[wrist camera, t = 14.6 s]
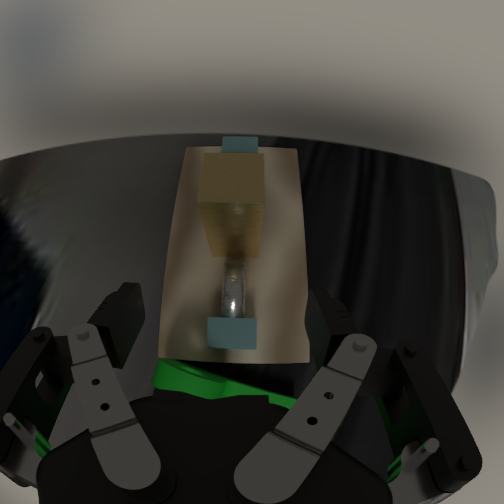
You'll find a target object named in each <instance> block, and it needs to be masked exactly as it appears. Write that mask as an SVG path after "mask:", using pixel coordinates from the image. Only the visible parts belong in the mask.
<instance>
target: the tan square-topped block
mask: <svg viewBox="0 0 504 504" xmlns="http://www.w3.org/2000/svg"><path fill="white" fill-rule="evenodd" d="M197 204H198V208H199V212H200V215H201V219H202V223H203V226H204V230H205V233H206V237H207V240H208V244H209V247H210V251H211V254H212V257H238V258H258V254H259V246H260V238H261V230H262V222H263V214H264V206H265V177H264V153H204V157H203V164H202V170H201V177H200V184H199V191H198V198H197Z"/></svg>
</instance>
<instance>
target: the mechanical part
mask: <svg viewBox="0 0 504 504" xmlns="http://www.w3.org/2000/svg"><path fill="white" fill-rule="evenodd" d="M152 383H153V385H155V386H156V387H157V388H159V389H165V390H173V391H182V392H185V393H189V394H192V395H195V396H199V397H202V398H206V399H217V398H223V397H230V396H236V395H269V403H274V404H277V405H281V406H283V407H286V408H288V409H291V407H292V406H293V405H294V404H295V402H296V401H297V399H295V398H294V397H291V396H287V395H283V394H279V393H275V392H272V391H268V390H264V389H261V388H257V387H254V386H251V385H247V384H244V383H241V382H238V381H235V380H232V379H229V378H226V377H223V376H220V375H217V374H214V373H211V372H208V371H206V370H203V369H200V368H198V367H195V366H192V365H190V364H187V363H185V362H182V361H180V360H177V359H168V358H159V361H158V364H157V367H156V369H155V372H154V375H153V378H152Z"/></svg>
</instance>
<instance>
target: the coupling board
mask: <svg viewBox="0 0 504 504" xmlns="http://www.w3.org/2000/svg"><path fill="white" fill-rule="evenodd" d="M204 153H264V177H265V206H264V214H263V222H262V230H261V238H260V246H259V254H258V258H238V257H212V254H211V251H210V247H209V244H208V240H207V237H206V233H205V230H204V226H203V223H202V219H201V215H200V212H199V208H198V204H197V198H198V191H199V184H200V177H201V170H202V164H203V157H204ZM307 299H308V284H307V265H306V248H305V233H304V220H303V208H302V197H301V186H300V176H299V166H298V157H297V149H289V148H272V147H258V137H236V136H223V141H222V146H211V147H186V151H185V155H184V160H183V165H182V170H181V175H180V180H179V185H178V190H177V196H176V201H175V207H174V213H173V219H172V225H171V232H170V239H169V246H168V253H167V261H166V269H165V277H164V286H163V296H162V307H161V319H160V332H159V349H158V357H160V358H169V359H179V360H191V361H205V362H224V363H306V362H309V339H308V336H307V333H306V330H305V324H304V318H305V311H306V305H307Z"/></svg>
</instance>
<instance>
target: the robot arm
mask: <svg viewBox="0 0 504 504" xmlns="http://www.w3.org/2000/svg"><path fill="white" fill-rule="evenodd" d="M144 320H145V309H144V304H143V298H142V292H141V287H140V284H139V283H128V282H124V283H123V284H122V285H121V287H120V288H119V289H118V291H117V292H113V293H111V294H110V295H108V296H107V297H106V298H105V299H104V300H103V302H102V304H100V306H99V307H98V309H97V310H96V311H95V312H94V314H93V315H92V316H91V318H90V319H89V321H88V322H87V323H84V324H79V325H77V326H75V327H73V328H72V329H71V330H70V331H69V333H68V336H55V337H54V336H53V333H52V331H51V329H50V328H48V327H38V328H35V329H33V330H32V331H30V332H29V333H28V334H27V336H26V337H25V338H24V340H23V341H22V342H21V344H20V345H19V347H18V348H17V349H16V351H15V352H14V353H13V355H12V356H11V358H10V359H9V361H8V362H7V363H6V365H5V366H4V368H3V369H2V371H1V372H0V472H2V473H3V474H4V475H5V476H7V477H8V478H9V479H11V480H12V481H13V482H15V483H16V484H17V485H19V486H22V487H29V486H32V487H34V488H36V489H37V490H38V496H39V504H437V503H439V502H441V501H443V500H445V499H446V498H448V497H449V496H451V495H452V494H454V493H455V492H456V491H458V490H460V489H461V488H462V486H464V485H465V484H467V483H468V482H469V481H471V480H472V479H473V478H475V477H476V476H477V475H478V474H479V472H480V470H481V468H482V457H481V454H480V452H479V449H478V447H477V445H476V443H475V441H474V438H473V436H472V434H471V432H470V430H469V428H468V426H467V424H466V422H465V420H464V418H463V416H462V415H461V412H460V410H459V409H458V407H457V405H456V403H455V401H454V399H453V397H452V396H451V394H450V392H449V390H448V388H447V387H446V385H445V383H444V381H443V380H442V378H441V376H440V375H439V373H438V371H437V370H436V368H435V366H434V365H433V363H432V361H431V360H430V358H429V356H428V355H427V353H426V352H425V350H424V348H423V347H422V346H421V345H420V344H418V343H417V342H414V341H411V340H401V341H399V342H398V343H397V344H396V346H395V348H394V349H386V348H379V347H377V345H376V343H375V342H374V340H373V339H371V338H370V337H368V336H366V335H363V334H360V333H359V331H358V330H357V328H356V326H355V324H354V322H353V320H352V319H351V317H350V315H349V313H348V312H347V309H346V308H345V306H344V304H343V303H342V302H340V301H339V300H338V299H337V298H331V297H330V295H329V293H328V291H327V289H326V288H310V289H309V293H308V299H307V305H306V311H305V318H304V324H305V330H306V333H307V336H308V339H309V343H310V346H311V350H312V353H313V356H314V360H315V363H316V367H317V370H318V373H317V374H316V375H315V377H314V378H313V380H312V381H311V382H310V384H309V385H308V386H307V388H306V389H305V390H304V392H303V393H302V394H301V396H300V397H299V398H298V400H297V401H296V402H295V404H294V405H293V406H292V407H291V409H288V408H286V407H283V406H281V405H277V404H274V403H269V395H236V396H230V397H223V398H217V399H206V398H202V397H199V396H195V395H192V394H189V393H185V392H182V391H173V390H165V389H157V388H155V389H154V393H153V396H149V397H143V398H139V399H136V400H133V401H131V402H129V403H128V401H127V399H126V397H125V395H124V393H123V391H122V388H121V386H120V384H119V382H118V380H117V377H116V375H115V373H114V370H113V368H118V369H123V367H124V364H125V362H126V360H127V358H128V355H129V353H130V351H131V349H132V347H133V345H134V342H135V340H136V338H137V336H138V334H139V332H140V330H141V328H142V325H143V323H144ZM40 371H41V372H42V374H43V378H42V380H41V381H40V383H39V385H38V387H37V389H36V387H35V381H36V378H37V376H38V374H39V372H40ZM72 383H75V386H76V390H77V393H78V397H79V400H80V404H81V407H82V410H83V413H84V416H85V419H86V422H87V425H88V429H86V430H85V431H83V432H81V433H80V434H78V435H77V436H75V437H73V438H72V439H70V440H68V441H67V442H65V443H63V444H61V445H60V446H58V447H56V448H55V449H53V450H51V451H50V444H49V442H48V440H49V437H50V435H51V432H52V430H53V427H54V424H55V422H56V420H57V417H58V415H59V412H60V410H61V408H62V405H63V403H64V401H65V399H66V396H67V394H68V392H69V390H70V388H71V385H72ZM357 395H363V396H372V397H375V399H376V402H377V405H378V408H379V411H380V414H381V417H382V420H383V423H384V426H385V429H386V432H387V435H388V438H389V441H390V445H391V448H392V451H393V454H394V459H393V460H392V461H391V463H390V464H389V467H388V481H387V482H386V481H385V480H384V479H383V478H382V477H381V476H380V475H378V474H377V473H375V472H374V471H372V470H371V469H369V468H368V467H367V466H365V465H364V464H362V463H361V462H359V461H358V460H357V459H355V458H354V457H352V456H351V455H350V454H348V453H347V452H346V451H344V450H343V449H341V448H340V447H339V446H337V445H336V444H335V443H333V442H332V440H333V439H334V437H335V435H336V433H337V432H338V430H339V428H340V426H341V424H342V423H343V421H344V419H345V417H346V415H347V413H348V412H349V410H350V408H351V406H352V404H353V402H354V400H355V398H356V396H357Z"/></svg>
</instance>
